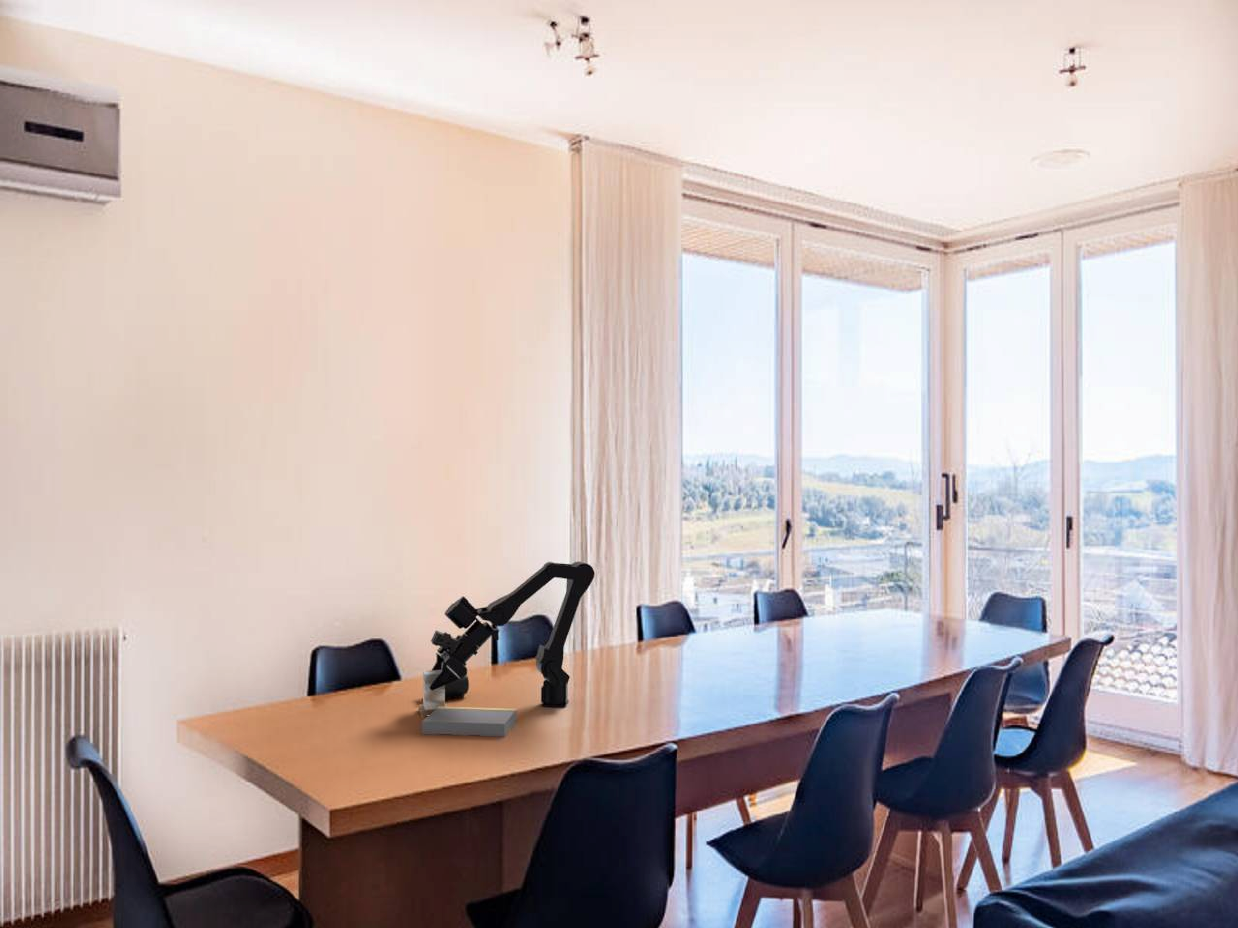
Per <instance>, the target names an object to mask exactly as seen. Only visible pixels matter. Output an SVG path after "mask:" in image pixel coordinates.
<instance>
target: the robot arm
mask: <svg viewBox="0 0 1238 928" xmlns="http://www.w3.org/2000/svg"><path fill="white" fill-rule="evenodd" d="M554 578H559V579H565V580H566V587H565V588H566V591H565V594H564V597H563V600H562V603H561V605H560V608H559V612H558V614H557V616H556V618H555V619H556V620H555V623H554V625H553V628H552V629H551V630H552V631H551V634H550V637H549V639H548V641H547V643H546V644H545V645H542V644H539V646H538V649H537V654H536V656H535V657H534V660H535V668H536V669H537V671H538V672H539V673H540V674H541V675H542V677H543V679H544V680H543V681H542V683H543V685H542V686H541V688H540V703H541V706H542V707H556V708H557V707H559V708H560V707H563V708H566V707H567V705H568V704H569V699H568V695H569V694H568V692H569V690H568V688H569V687H568V685H569V684H568V683H569V680H570V679H571V676H570V675H569V674H568V673H567V672H566V671H565V670H564V669H563V662H564V654H565V651H564V649H565V644H566V641H567V638H568V635H569V633H570V630H571V628H572V624H573V621H574V619H575V617H576V613H577V611H578V607H579V605H580V602H581V598H582V597H583V595H584V594H585V593H586V592H587V590H588V589H589V588H590V586H591V584H592V582H593V580H594V578H595V569H594V568H593V566H592V565H591V564H589V563H587V562H583V561H574V562H573V563H561V562H560V563H559V562H552V561H546V562H545V564H543V566H541V568H539V569H538V570H537V571H536V572H535V573H534V574H532V575H531V576H530V577H529V578H527V579H526V580H525V581H524V582H523V583H521V584H520V585H519V586H517V587H516V588H515V589H514V590H513V591H511V592H510V593H508V594H506V595H503V596H502V597H499V598H498V599H496V600H494V601H492V602H490V603H489V604H488V605H487V606H485V607H479V608H476V607H474V606H473V605H472V604H471V603H470V602H469V600H468V599H467V598H466V597H465V596H464V595H463V596H461V597H460V598H459V599H457V600H456V601H454V603H451V604H450V605H449V606H448V607H447V609H446V610H445V611H444V616H445V617H447V619H448V620H449V621H450V622H451V623H452V624H454V625H455V626H456V627H457V628H458V629H459V630H461V629H465V632H463V634H462V635H461V634H460V635H457V636H456V637H453V636H452V635H451V633H447V632H446V631H445V632H441V631H439V630H435V631H434V634H433V635H432V638H431V640H430V642H431V644H432V645H434V646H436V647H438V646H439V648H437V649H436V653H435V656H436V661H435V664H433V667H432V668H431V670H441V672H440V673H439V674H438V676H437V677H436V678H435V680H434V681H433V683H432V684H431V686H430V687H429V688H430V689H431V690H435V689H437V688H439V687H442V686H444V685H446V684H449V683H451V682H454V681H456V680H459V679H460V678H461V679H463V678H464V677H465V675H466V674H468V668H467V662H468V660H470V659H471V658H472V657H473V656H476V655H477V654H478V653H479V652H478V650H480V648H481V647H482V646H483V645H484V644H485V643H486V642H487V641H488V640H489V639H490V638H491V637H493V639H495V640H496V641H499V640H500V637H499V632H500V629H498V628H494V627H493V626H495V627H502V626H503V627H504V626H505V625H506V624H508V623H509V621H510V620H511V619H512V618H513V617H514V616H515V614H516V613H517V612H518V609H519V608H520V607H521V606H522V605H523V604H524V603H525V602H526V601H528V600H529V599H530V598H531V597H532V596H534V595H535V594H536V593H537V592H538V591H540V590H541V589H543V587H545V586H546V585H547V584H548V583H549V582H550V581H552V580H553V579H554ZM477 616H478V617H479V618H480V619H481V620H483V621H484V622H483V623H482V622H481V621H480V620H479V618H477ZM488 622H490V623H491V624H492V625H493V626H491V624H489V623H488ZM466 629H467V630H466ZM458 676H459V677H460V678H459V677H458Z"/></svg>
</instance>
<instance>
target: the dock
mask: <svg viewBox="0 0 1238 928" xmlns="http://www.w3.org/2000/svg"><path fill="white" fill-rule="evenodd" d="M516 722H517V708H500V707H499V708H498V707H494V708H493V707H466V706H465V707H464V706H462V707H461V706H448V707H438V708H437V709H436V710H435V711H434V712H432V713H431V714H430V715H429V716H428V717H424V719H423V720H422V721H421V734H422V733H424V734H423V735H437V734H452V735H451V736H468V735H480V736H479V737H500V738H501V737H502V738H503V737H504V738H505V737H506V735H507V734H508V733H509V732H510V730H511V727H512V728H513V726H514V725H515V724H516Z"/></svg>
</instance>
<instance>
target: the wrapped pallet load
mask: <svg viewBox="0 0 1238 928" xmlns="http://www.w3.org/2000/svg"><path fill="white" fill-rule="evenodd" d="M440 672H441V670H432V669H431V670H423V672H422V673H423V674H422V675H423V678H422V679H423V681H422V688H423V689H422V693H423V695H422V703H421V704H418V712H419V711H420V712H419V714H420V713H421V714H420V716H427V715H430V714H431V713H432V712H434V711H435V710H436V709H437V708H438V707H449V706H448V705H447V702H446V701H445V700H446V699H445V685H444V686H442V687H439V688H437V689H435V690H431V689H430V688H429V687H430V686H431V684H432V683H433V681H434V680H435V678H436V677H437V676H438V674H439V673H440Z"/></svg>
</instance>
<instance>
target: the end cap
mask: <svg viewBox="0 0 1238 928" xmlns="http://www.w3.org/2000/svg"><path fill="white" fill-rule="evenodd" d="M467 674H468V673H467ZM467 674H466V675H465V677H464V678H463V679H461V678H460V677H459V676H458V677H459V678H460V679H459V680H456V681H454V682H451V683H449V684H446V685H445V700H446V699H453V697H454V698H460V697H459V696H461V697H464V696H465V695H466V694H468V692H469V689H470V681H469V677H468V675H467Z"/></svg>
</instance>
